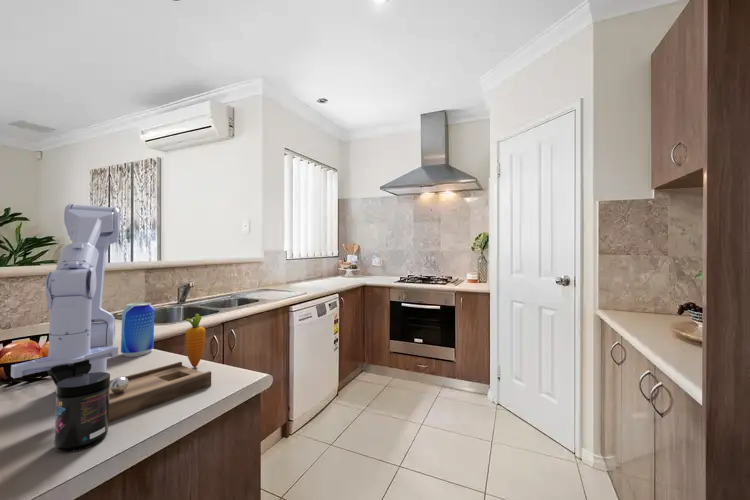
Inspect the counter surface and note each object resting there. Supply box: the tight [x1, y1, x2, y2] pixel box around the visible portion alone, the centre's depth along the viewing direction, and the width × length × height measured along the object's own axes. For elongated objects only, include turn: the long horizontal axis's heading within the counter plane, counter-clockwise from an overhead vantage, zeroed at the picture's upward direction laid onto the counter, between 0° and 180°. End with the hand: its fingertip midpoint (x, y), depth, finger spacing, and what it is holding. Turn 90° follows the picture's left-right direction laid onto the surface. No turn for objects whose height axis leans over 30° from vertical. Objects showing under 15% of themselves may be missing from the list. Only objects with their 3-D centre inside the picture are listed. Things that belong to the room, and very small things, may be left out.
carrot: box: [185, 313, 207, 368], centre depth 89 cm, size 5×5×15 cm
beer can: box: [120, 302, 155, 358], centre depth 102 cm, size 8×8×16 cm
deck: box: [108, 361, 212, 423], centre depth 71 cm, size 14×21×3 cm, turn 149°
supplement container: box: [53, 371, 111, 453], centre depth 53 cm, size 7×7×10 cm
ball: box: [110, 376, 129, 393], centre depth 66 cm, size 3×3×3 cm
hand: (68, 403), depth 59 cm, fingers closed
